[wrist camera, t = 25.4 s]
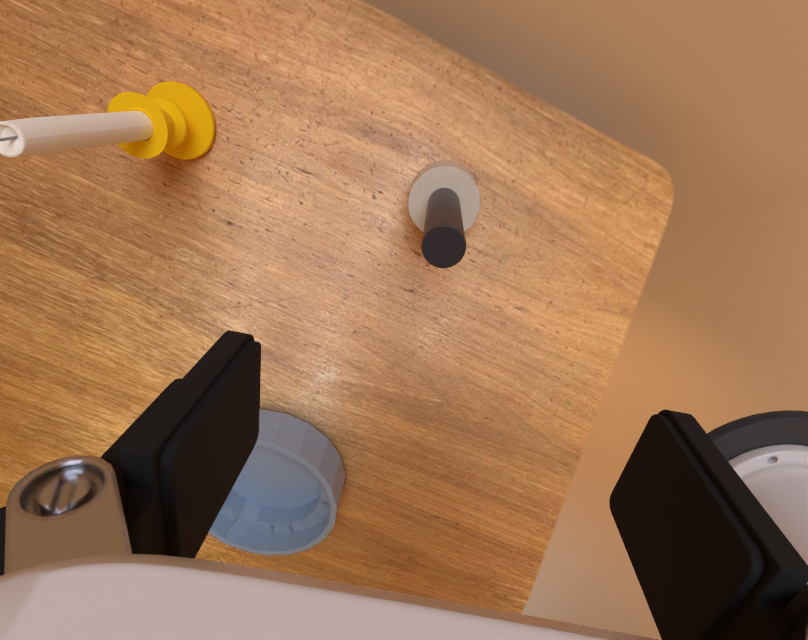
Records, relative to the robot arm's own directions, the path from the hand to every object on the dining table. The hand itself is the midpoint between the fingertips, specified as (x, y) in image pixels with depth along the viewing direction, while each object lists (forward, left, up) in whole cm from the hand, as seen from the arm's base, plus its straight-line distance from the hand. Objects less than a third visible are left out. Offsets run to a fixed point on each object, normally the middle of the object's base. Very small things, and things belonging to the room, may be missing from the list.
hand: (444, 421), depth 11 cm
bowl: (+12, +30, -26) cm, 42 cm away
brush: (0, 0, -26) cm, 26 cm away
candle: (+20, -2, -26) cm, 33 cm away
